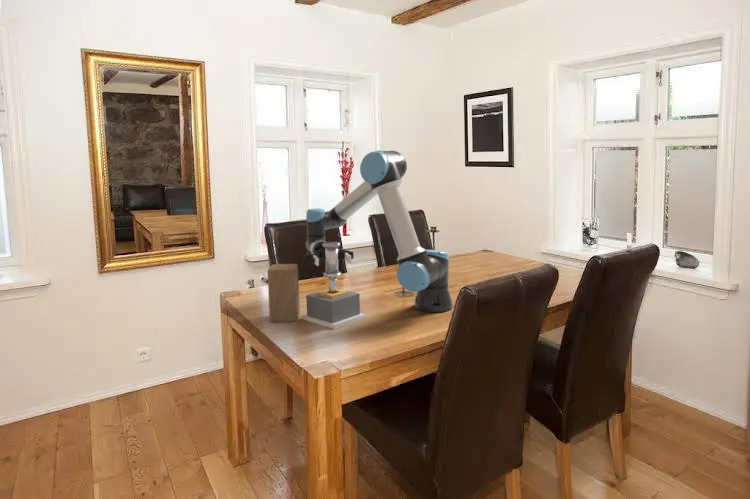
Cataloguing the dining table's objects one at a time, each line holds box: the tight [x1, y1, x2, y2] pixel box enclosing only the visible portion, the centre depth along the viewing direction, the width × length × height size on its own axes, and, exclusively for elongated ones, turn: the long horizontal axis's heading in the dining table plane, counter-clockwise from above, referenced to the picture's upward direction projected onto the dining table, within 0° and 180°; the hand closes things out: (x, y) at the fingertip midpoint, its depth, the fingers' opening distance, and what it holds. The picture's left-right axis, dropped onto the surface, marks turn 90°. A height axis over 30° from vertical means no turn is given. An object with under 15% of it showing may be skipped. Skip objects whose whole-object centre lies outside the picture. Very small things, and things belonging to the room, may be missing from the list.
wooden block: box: [267, 263, 301, 323], centre depth 199 cm, size 10×10×20 cm
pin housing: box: [301, 288, 367, 330], centre depth 198 cm, size 18×16×10 cm
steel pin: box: [323, 241, 342, 294], centre depth 196 cm, size 6×6×20 cm
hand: (334, 260), depth 191 cm, fingers open, 11 cm apart
